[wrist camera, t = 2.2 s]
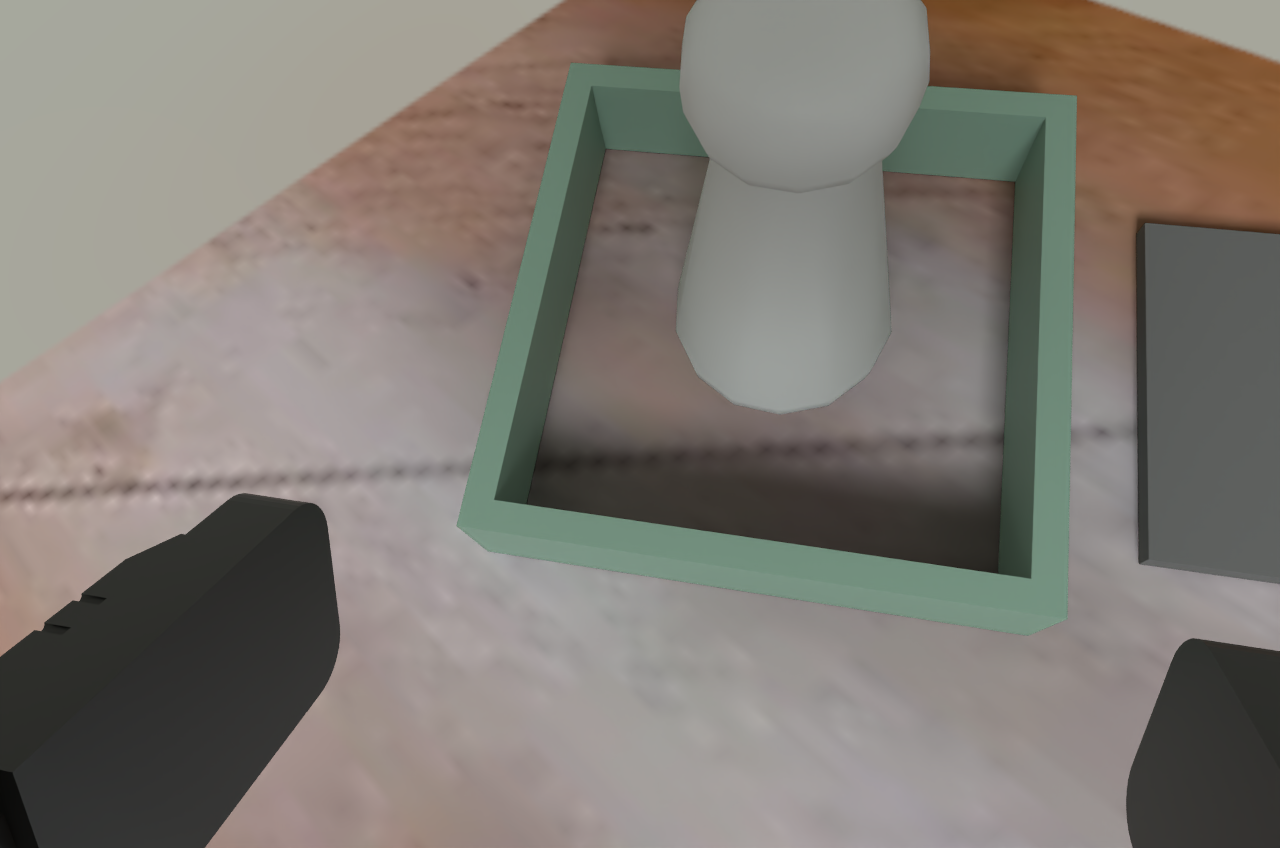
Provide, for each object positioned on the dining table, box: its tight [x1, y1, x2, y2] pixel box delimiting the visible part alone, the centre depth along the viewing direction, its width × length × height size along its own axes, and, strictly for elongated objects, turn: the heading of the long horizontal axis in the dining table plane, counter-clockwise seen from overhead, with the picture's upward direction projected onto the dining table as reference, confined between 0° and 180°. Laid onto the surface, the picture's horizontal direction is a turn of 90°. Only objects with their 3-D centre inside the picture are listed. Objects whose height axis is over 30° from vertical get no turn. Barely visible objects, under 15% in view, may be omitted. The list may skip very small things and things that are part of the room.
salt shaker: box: [676, 0, 930, 415], centre depth 21 cm, size 6×6×13 cm
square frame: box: [457, 63, 1077, 636], centre depth 25 cm, size 15×15×3 cm
